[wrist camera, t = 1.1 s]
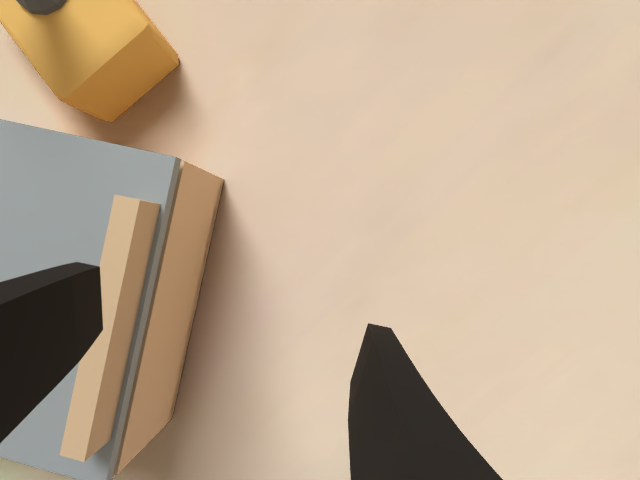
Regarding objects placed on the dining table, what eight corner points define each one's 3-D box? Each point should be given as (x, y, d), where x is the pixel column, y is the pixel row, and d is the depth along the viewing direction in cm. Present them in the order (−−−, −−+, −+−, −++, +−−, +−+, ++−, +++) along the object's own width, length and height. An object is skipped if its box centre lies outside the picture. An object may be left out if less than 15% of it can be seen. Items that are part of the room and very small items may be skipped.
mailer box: (172, 418, 21) (117, 474, 16) (-92, 347, 22) (-220, 378, 17) (223, 179, 21) (184, 161, 16) (-47, 120, 22) (-164, 86, 17)
